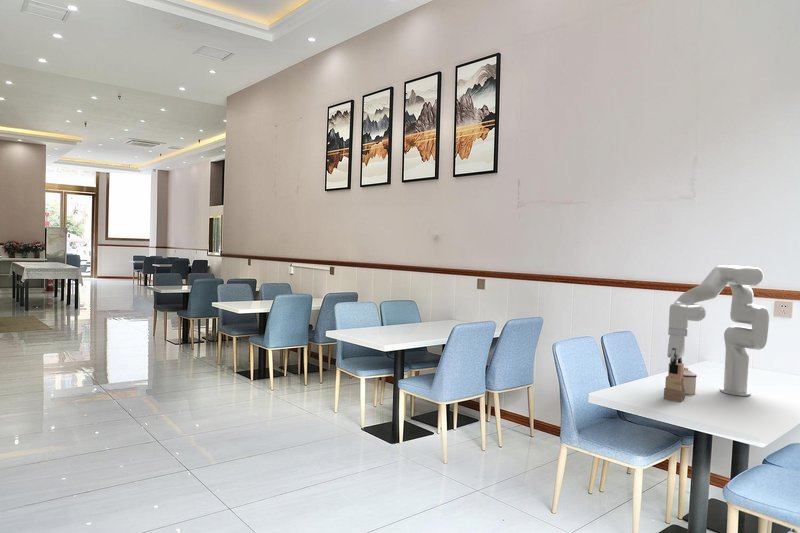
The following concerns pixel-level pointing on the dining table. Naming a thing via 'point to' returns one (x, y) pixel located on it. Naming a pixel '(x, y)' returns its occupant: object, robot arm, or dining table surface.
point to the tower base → (674, 394)
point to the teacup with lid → (689, 381)
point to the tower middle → (674, 383)
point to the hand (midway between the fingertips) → (675, 371)
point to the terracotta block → (680, 371)
